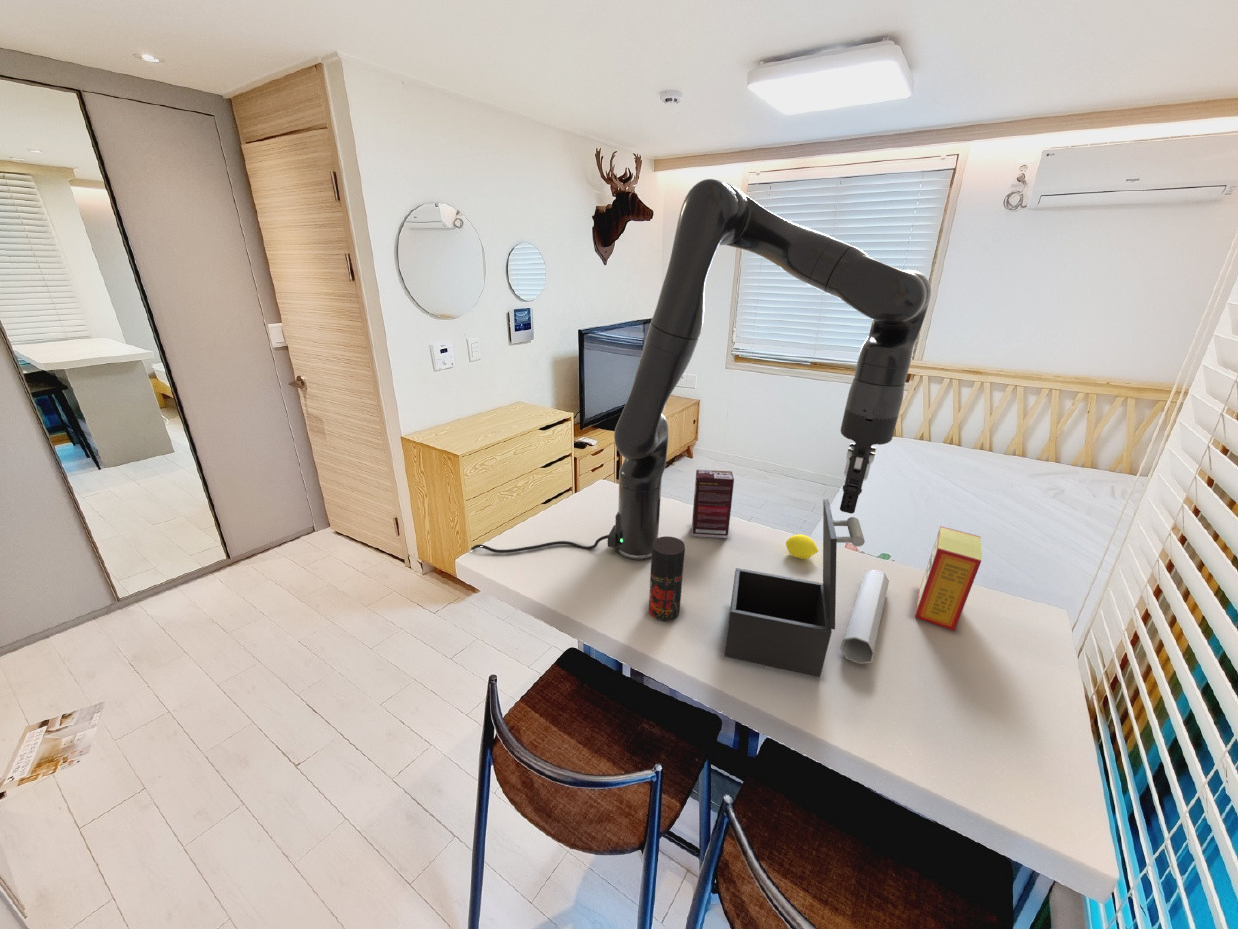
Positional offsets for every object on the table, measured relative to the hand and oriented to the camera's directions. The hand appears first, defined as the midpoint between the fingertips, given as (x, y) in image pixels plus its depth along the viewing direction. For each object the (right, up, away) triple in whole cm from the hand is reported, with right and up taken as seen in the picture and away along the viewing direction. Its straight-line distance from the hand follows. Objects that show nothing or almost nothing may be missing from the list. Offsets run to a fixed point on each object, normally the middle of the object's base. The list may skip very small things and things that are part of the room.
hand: (849, 500), depth 84 cm
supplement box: (-17, -11, +38) cm, 43 cm away
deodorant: (-30, -22, +12) cm, 39 cm away
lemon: (+2, -15, +30) cm, 33 cm away
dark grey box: (-11, -26, +6) cm, 29 cm away
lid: (-5, -10, -3) cm, 12 cm away
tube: (+8, -24, +11) cm, 27 cm away
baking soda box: (+23, -23, +14) cm, 35 cm away
